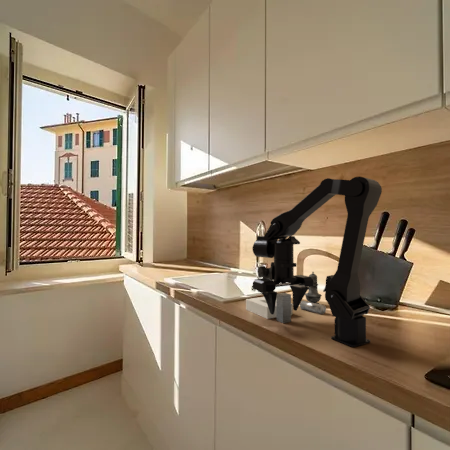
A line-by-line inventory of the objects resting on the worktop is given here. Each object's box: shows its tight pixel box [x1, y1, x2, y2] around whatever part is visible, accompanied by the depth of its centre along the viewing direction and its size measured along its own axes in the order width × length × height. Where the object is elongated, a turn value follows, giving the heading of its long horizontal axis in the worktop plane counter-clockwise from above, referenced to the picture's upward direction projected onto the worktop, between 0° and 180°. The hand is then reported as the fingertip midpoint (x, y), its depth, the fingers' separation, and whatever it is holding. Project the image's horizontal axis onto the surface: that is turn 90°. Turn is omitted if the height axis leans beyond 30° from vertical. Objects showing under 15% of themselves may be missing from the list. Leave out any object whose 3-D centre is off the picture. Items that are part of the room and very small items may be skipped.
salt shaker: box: [304, 271, 322, 304], centre depth 107 cm, size 6×6×12 cm
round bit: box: [299, 300, 327, 315], centre depth 98 cm, size 8×3×3 cm, turn 39°
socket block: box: [245, 296, 294, 320], centre depth 97 cm, size 12×10×4 cm
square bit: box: [275, 292, 292, 324], centre depth 87 cm, size 3×3×8 cm
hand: (283, 312), depth 87 cm, fingers open, 8 cm apart
